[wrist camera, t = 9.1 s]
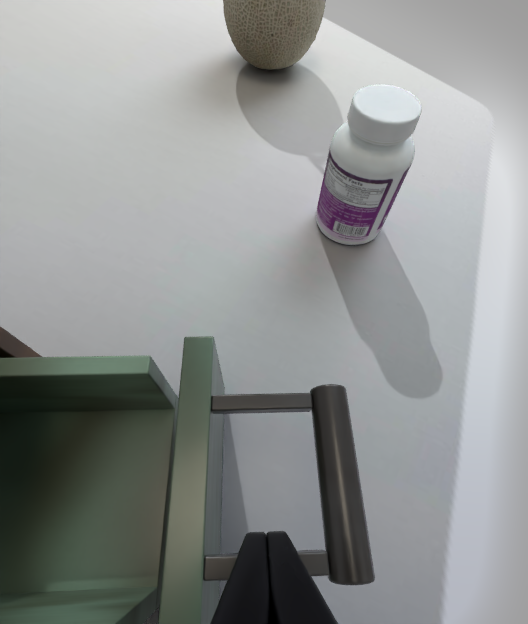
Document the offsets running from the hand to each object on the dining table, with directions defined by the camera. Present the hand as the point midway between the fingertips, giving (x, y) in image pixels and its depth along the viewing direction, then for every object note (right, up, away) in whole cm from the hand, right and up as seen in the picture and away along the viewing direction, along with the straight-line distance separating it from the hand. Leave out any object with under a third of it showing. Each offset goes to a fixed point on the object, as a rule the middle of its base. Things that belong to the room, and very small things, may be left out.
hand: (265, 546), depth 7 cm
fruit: (+1, +34, +33) cm, 47 cm away
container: (-6, -4, +10) cm, 12 cm away
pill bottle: (+7, +12, +21) cm, 25 cm away
